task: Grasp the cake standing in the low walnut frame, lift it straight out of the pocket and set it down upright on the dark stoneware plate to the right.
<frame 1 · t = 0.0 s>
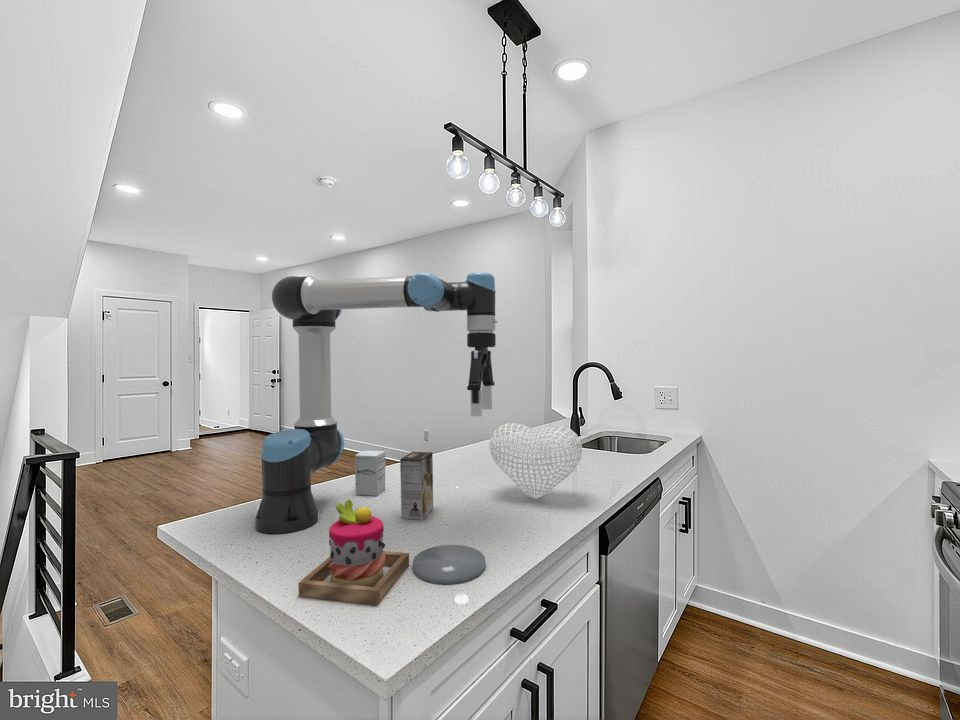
hand: (481, 412, 122), 28 cm above the worktop, tool pointing down, fingers open, 13 cm apart
coffee box: (417, 514, 126), on the worktop
supplement box: (370, 493, 145), on the worktop
cake: (357, 580, 90), resting in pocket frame
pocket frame: (357, 579, 90), on the worktop
heart: (535, 498, 138), on the worktop
plate: (449, 565, 95), on the worktop
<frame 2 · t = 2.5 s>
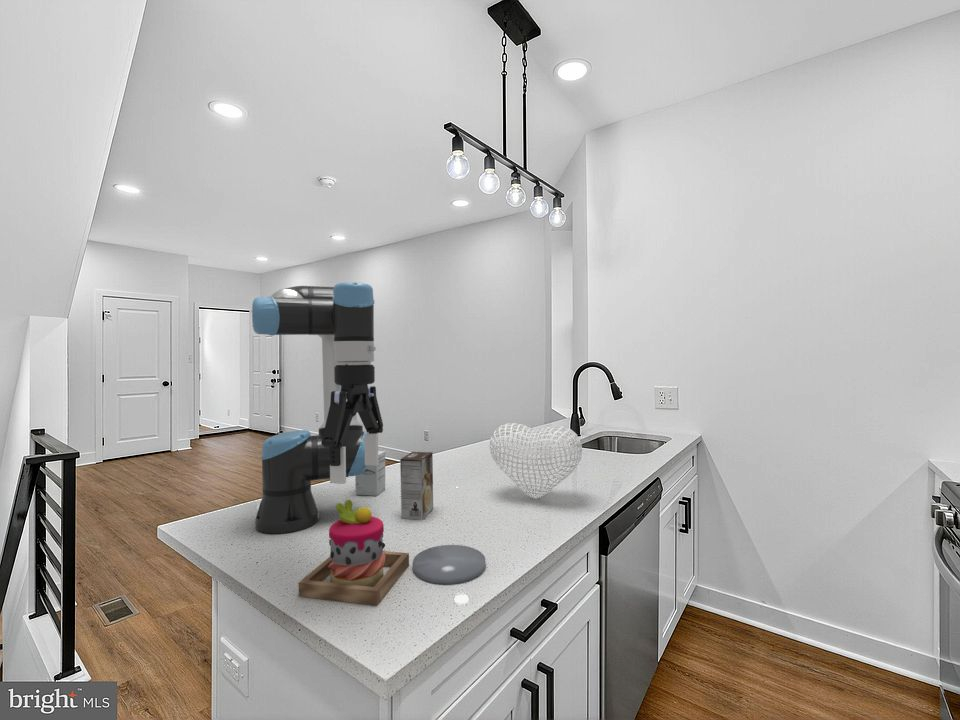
hand: (356, 473, 89), 21 cm above the worktop, tool pointing down, fingers open, 13 cm apart
nothing on the worktop moved.
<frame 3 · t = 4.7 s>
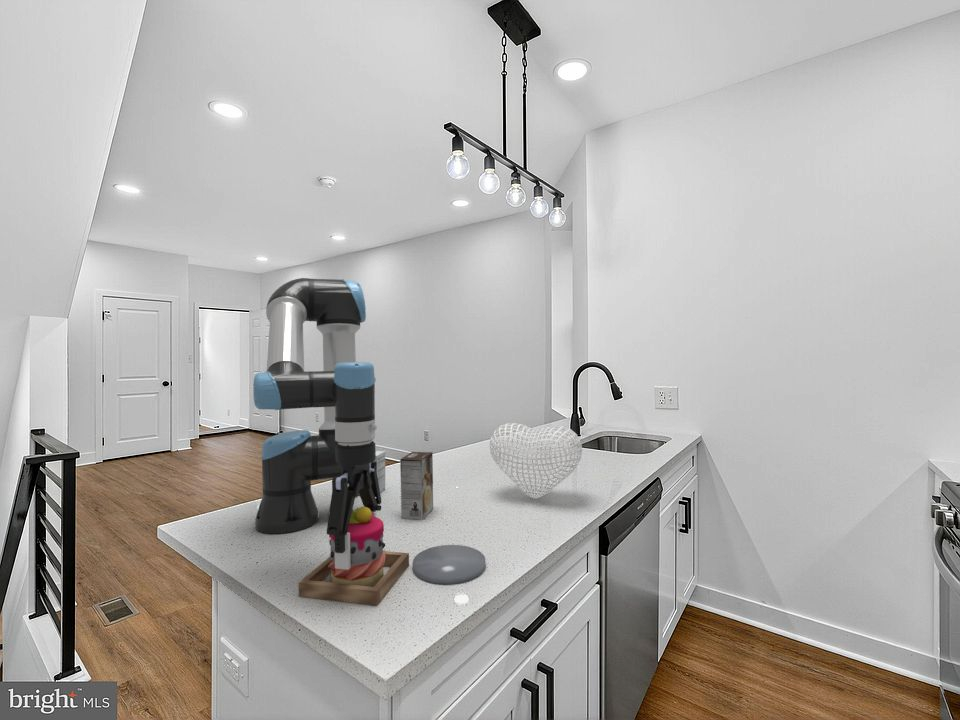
hand: (357, 554, 90), 5 cm above the worktop, tool pointing down, fingers closed on cake, 10 cm apart
cake: (357, 580, 90), resting in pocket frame, touching gripper
everything else where it was.
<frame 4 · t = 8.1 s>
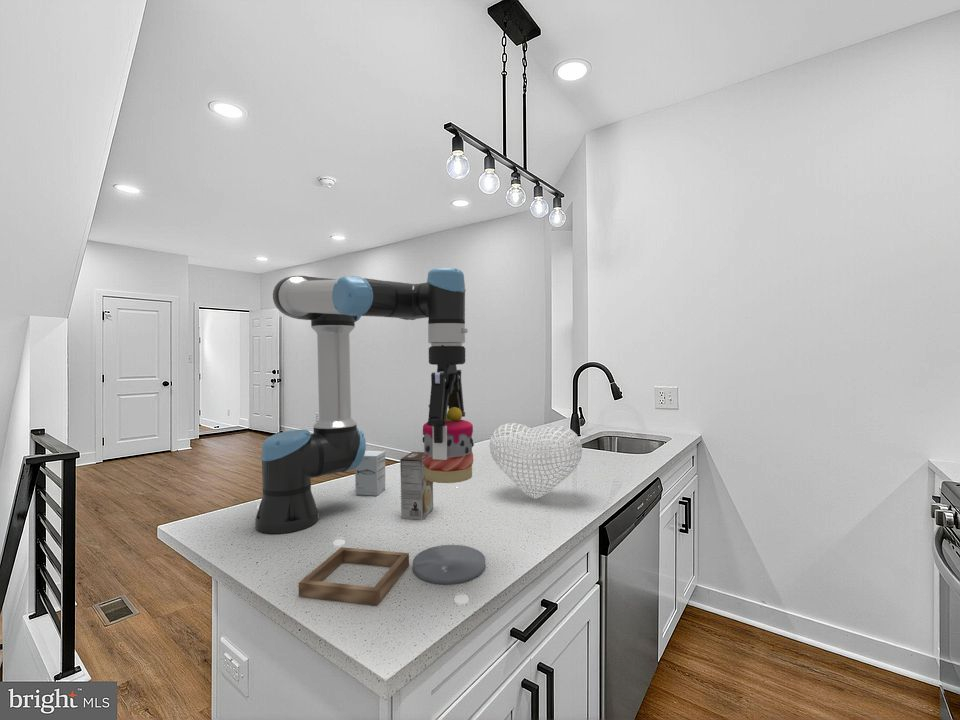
hand: (447, 452, 95), 24 cm above the worktop, tool pointing down, fingers closed on cake, 10 cm apart
cake: (448, 477, 95), point 18 cm above the worktop, touching gripper
everything else where it was.
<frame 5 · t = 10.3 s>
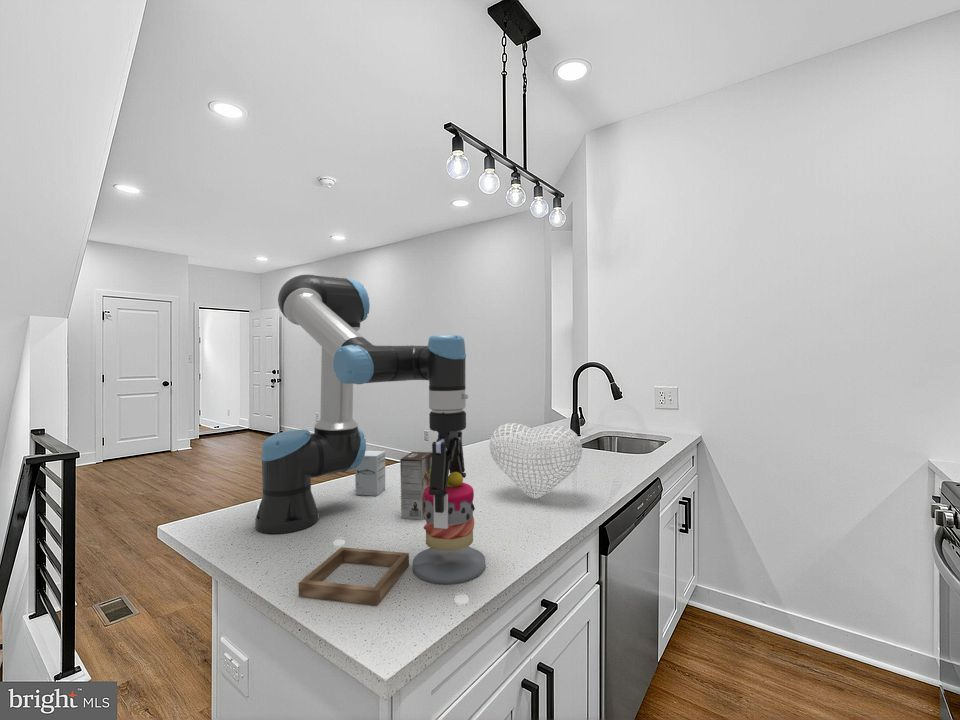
hand: (448, 517, 95), 10 cm above the worktop, tool pointing down, fingers closed on cake, 10 cm apart
cake: (449, 541, 95), point 5 cm above the worktop, touching gripper
everything else where it was.
when the fingers open (8 cm above the worktop, at t = 11.9 s): cake drops 1 cm, resting on plate.
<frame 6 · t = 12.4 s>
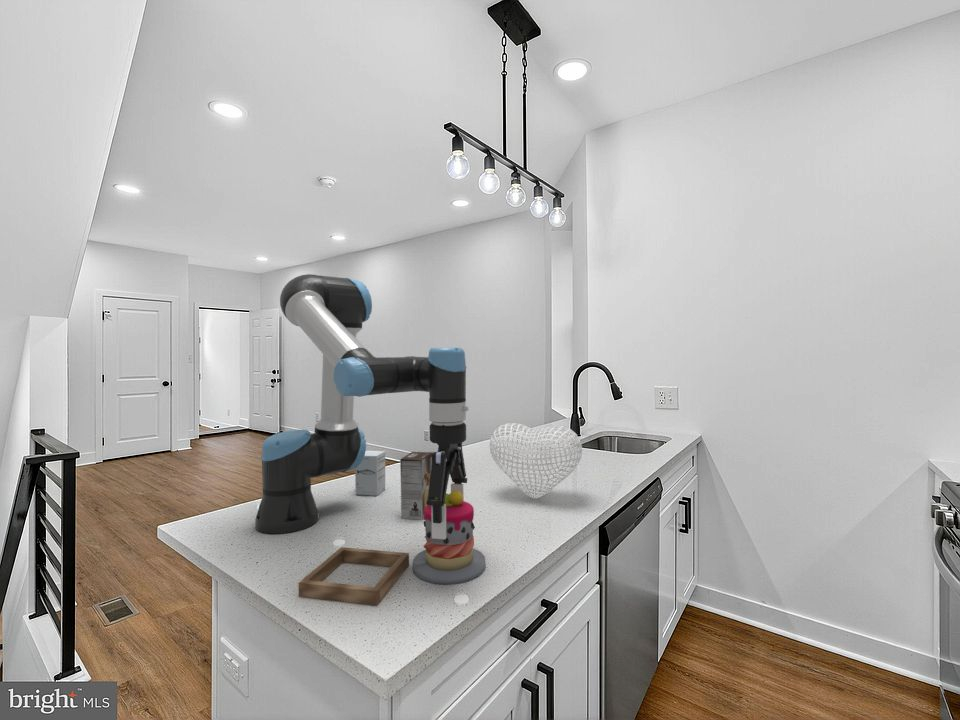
hand: (448, 525, 95), 9 cm above the worktop, tool pointing down, fingers open, 13 cm apart
cake: (449, 560, 95), point 1 cm above the worktop, touching plate
everything else where it was.
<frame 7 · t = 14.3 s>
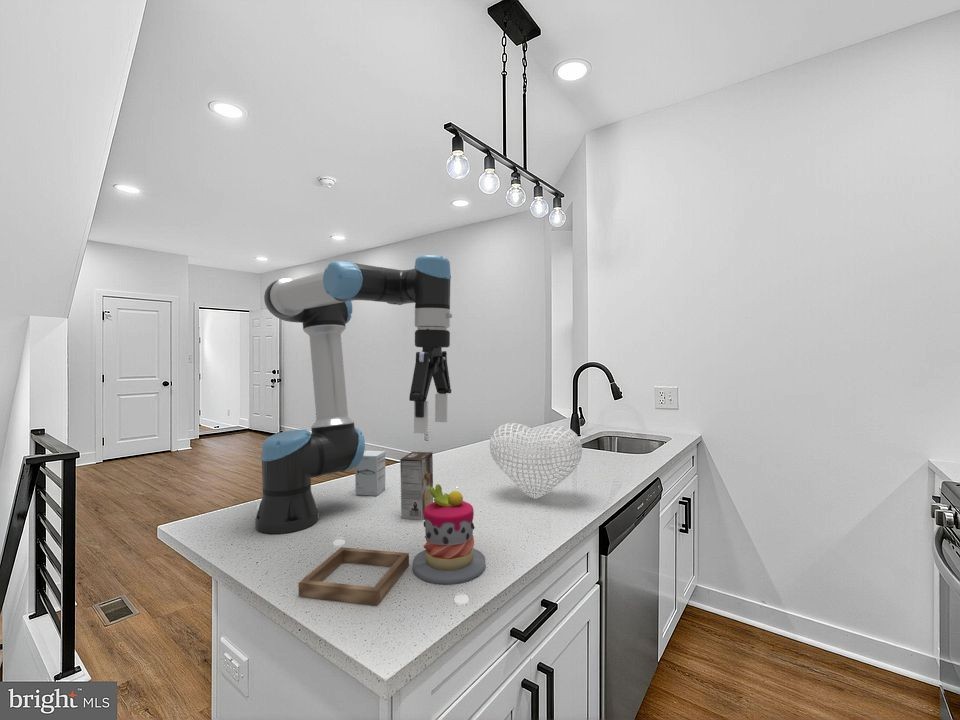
hand: (431, 427, 100), 28 cm above the worktop, tool pointing down, fingers open, 13 cm apart
nothing on the worktop moved.
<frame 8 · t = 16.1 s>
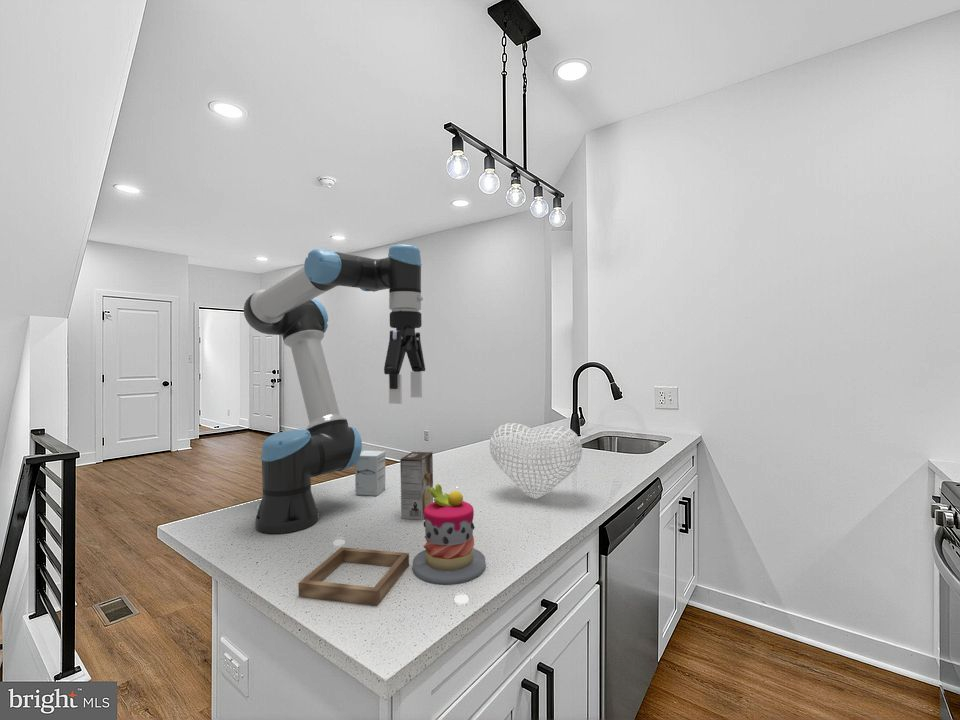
hand: (406, 400, 110), 33 cm above the worktop, tool pointing down, fingers open, 13 cm apart
nothing on the worktop moved.
at the end: cake inside the target area on the plate (0.3 cm from its centre), point 1.0 cm above the plate's base; cake tilted 0°; the gripper is holding nothing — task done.
